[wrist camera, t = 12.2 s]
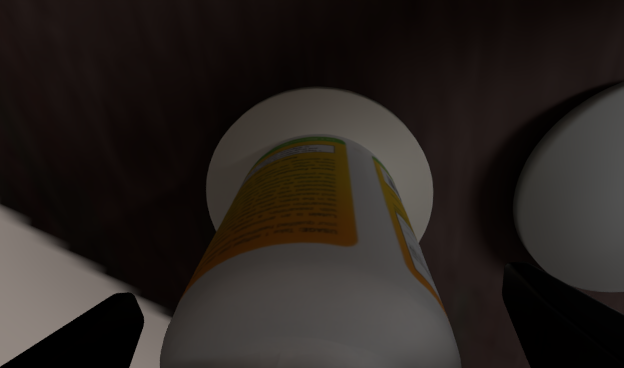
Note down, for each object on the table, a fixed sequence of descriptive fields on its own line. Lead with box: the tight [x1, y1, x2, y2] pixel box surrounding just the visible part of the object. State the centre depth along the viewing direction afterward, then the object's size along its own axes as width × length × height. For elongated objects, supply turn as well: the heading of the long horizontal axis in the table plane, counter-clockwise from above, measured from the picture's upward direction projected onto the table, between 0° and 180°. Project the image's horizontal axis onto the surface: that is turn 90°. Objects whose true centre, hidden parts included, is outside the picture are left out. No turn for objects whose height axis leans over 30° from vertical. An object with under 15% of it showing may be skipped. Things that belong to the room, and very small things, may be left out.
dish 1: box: [206, 86, 433, 243], centre depth 13 cm, size 8×8×1 cm
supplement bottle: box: [160, 134, 461, 368], centre depth 8 cm, size 5×5×10 cm
